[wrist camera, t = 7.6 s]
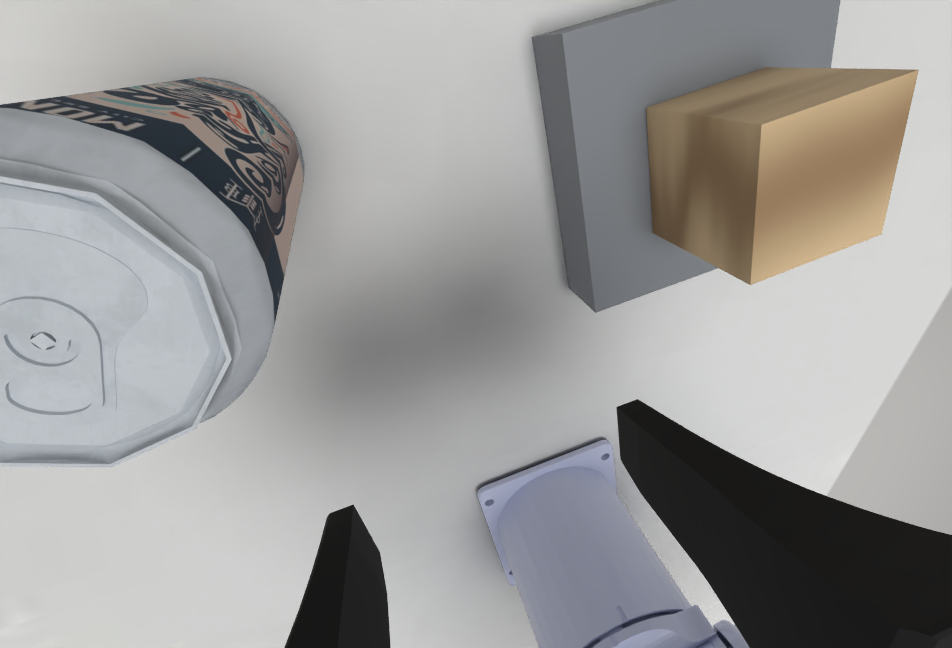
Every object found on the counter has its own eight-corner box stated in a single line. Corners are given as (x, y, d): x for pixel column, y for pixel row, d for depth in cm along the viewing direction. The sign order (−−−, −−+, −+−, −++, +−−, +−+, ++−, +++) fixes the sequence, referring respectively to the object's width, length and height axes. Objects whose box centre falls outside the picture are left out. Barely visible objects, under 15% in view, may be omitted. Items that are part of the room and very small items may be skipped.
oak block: (757, 195, 19) (881, 233, 15) (652, 233, 18) (750, 284, 14) (766, 67, 16) (918, 70, 12) (646, 107, 16) (761, 124, 12)
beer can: (313, 102, 15) (285, 183, 5) (296, 241, 17) (253, 493, 7) (139, 55, 14) (-383, 44, 4) (142, 215, 16) (-195, 497, 6)
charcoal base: (753, 216, 23) (806, 235, 21) (564, 283, 22) (595, 312, 19) (773, -34, 18) (847, -50, 15) (526, 38, 17) (562, 33, 14)
